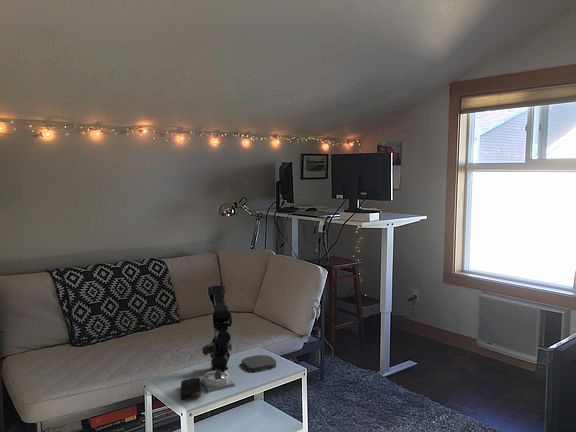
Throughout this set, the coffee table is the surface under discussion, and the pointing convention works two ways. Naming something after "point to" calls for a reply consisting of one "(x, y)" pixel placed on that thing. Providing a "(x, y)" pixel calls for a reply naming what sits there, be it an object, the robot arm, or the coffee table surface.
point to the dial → (216, 375)
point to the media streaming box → (258, 363)
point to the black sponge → (190, 389)
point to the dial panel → (216, 382)
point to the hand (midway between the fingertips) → (223, 372)
